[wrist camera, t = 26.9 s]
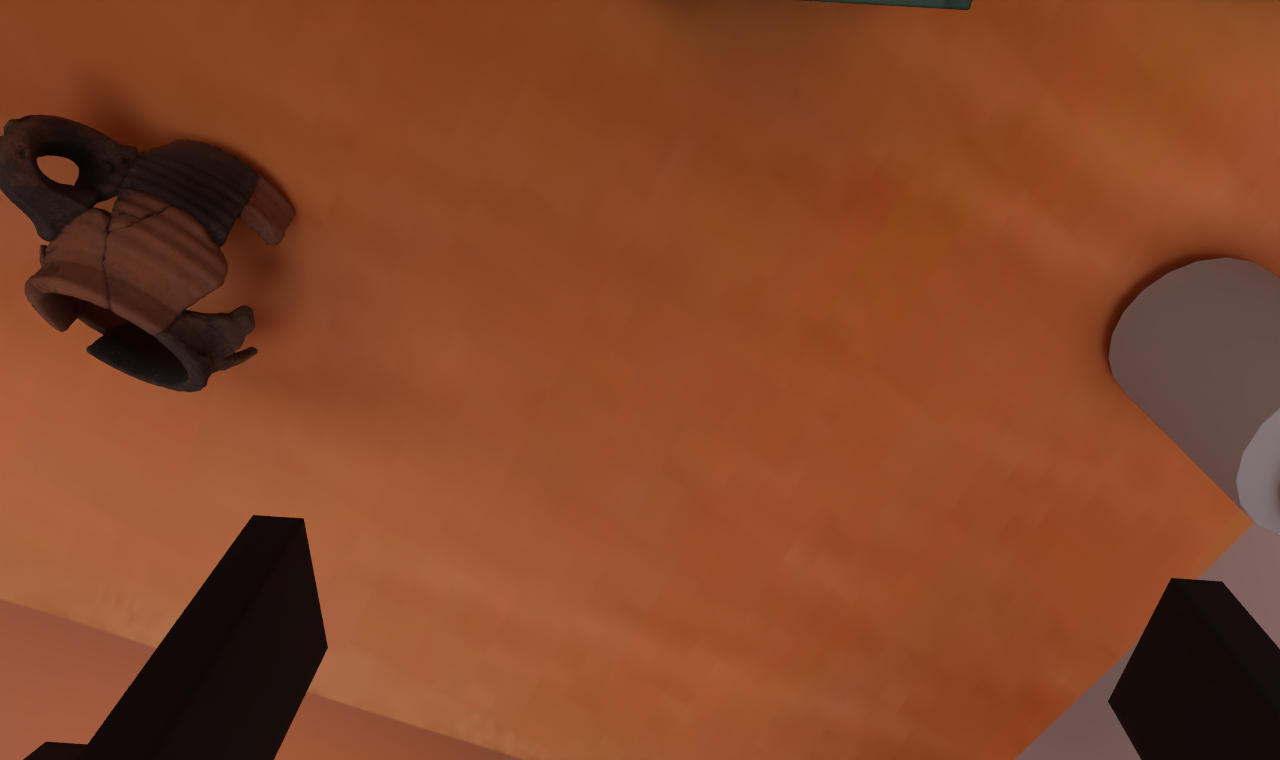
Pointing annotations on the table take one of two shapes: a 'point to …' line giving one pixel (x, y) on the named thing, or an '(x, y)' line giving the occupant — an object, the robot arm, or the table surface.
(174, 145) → the pottery mug
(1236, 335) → the can
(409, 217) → the table surface
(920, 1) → the open box
